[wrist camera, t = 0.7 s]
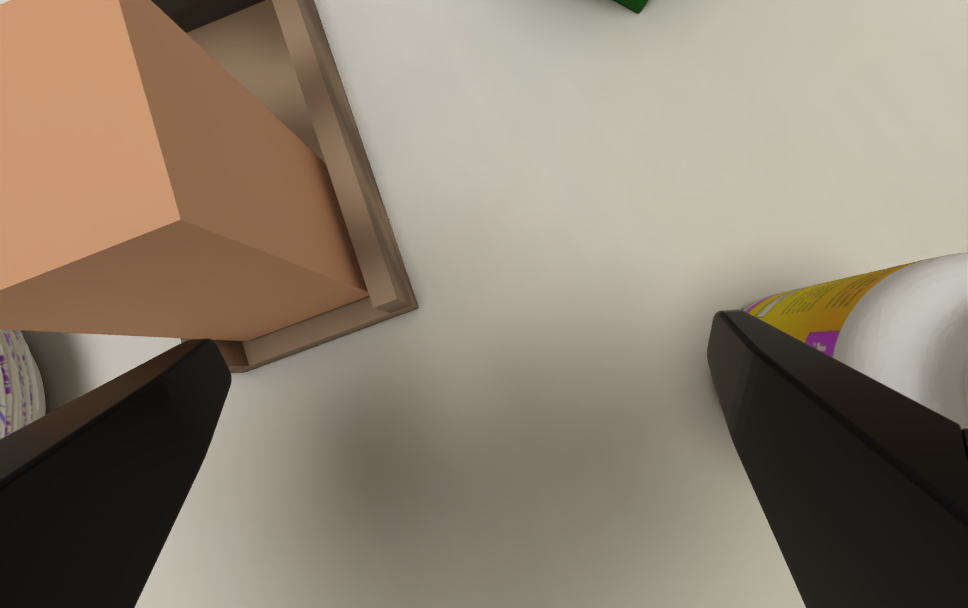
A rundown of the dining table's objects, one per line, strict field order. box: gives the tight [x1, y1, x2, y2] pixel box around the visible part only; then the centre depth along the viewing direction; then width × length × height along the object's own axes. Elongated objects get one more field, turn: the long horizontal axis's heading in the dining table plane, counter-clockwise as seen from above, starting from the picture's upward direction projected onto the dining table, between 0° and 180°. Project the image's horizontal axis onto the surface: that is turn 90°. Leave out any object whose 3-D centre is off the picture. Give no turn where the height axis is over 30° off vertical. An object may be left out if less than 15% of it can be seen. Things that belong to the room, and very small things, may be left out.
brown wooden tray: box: [151, 0, 419, 373], centre depth 22 cm, size 18×9×4 cm, turn 20°
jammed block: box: [0, 0, 369, 341], centre depth 16 cm, size 6×6×12 cm
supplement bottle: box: [743, 253, 968, 429], centre depth 15 cm, size 7×7×13 cm
